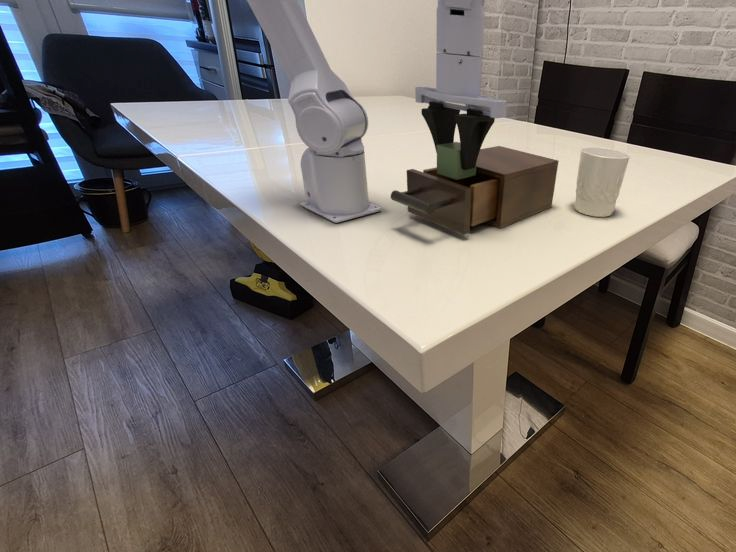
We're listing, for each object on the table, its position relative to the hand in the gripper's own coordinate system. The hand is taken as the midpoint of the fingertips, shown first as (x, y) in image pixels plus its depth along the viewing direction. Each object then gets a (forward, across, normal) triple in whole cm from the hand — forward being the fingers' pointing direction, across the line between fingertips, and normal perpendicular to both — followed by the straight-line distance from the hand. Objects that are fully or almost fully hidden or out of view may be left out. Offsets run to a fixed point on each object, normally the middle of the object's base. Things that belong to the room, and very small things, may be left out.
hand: (456, 164), depth 57 cm
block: (+1, 0, 0) cm, 1 cm away
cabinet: (+8, 0, -10) cm, 13 cm away
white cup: (+9, -12, -22) cm, 27 cm away
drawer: (+8, 0, 0) cm, 8 cm away
